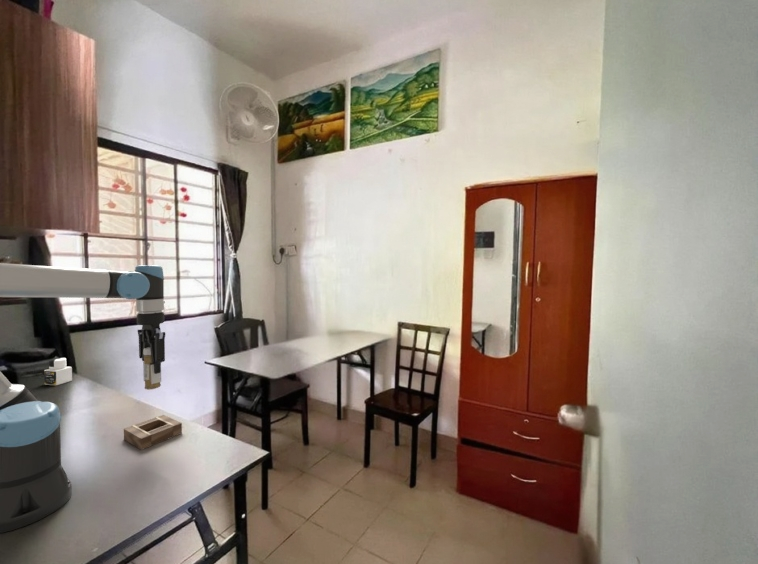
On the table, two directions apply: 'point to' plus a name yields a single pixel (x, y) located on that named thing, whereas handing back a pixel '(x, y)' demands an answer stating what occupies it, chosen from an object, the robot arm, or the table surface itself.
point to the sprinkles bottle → (148, 370)
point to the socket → (152, 431)
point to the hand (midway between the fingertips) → (152, 381)
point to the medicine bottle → (57, 372)
